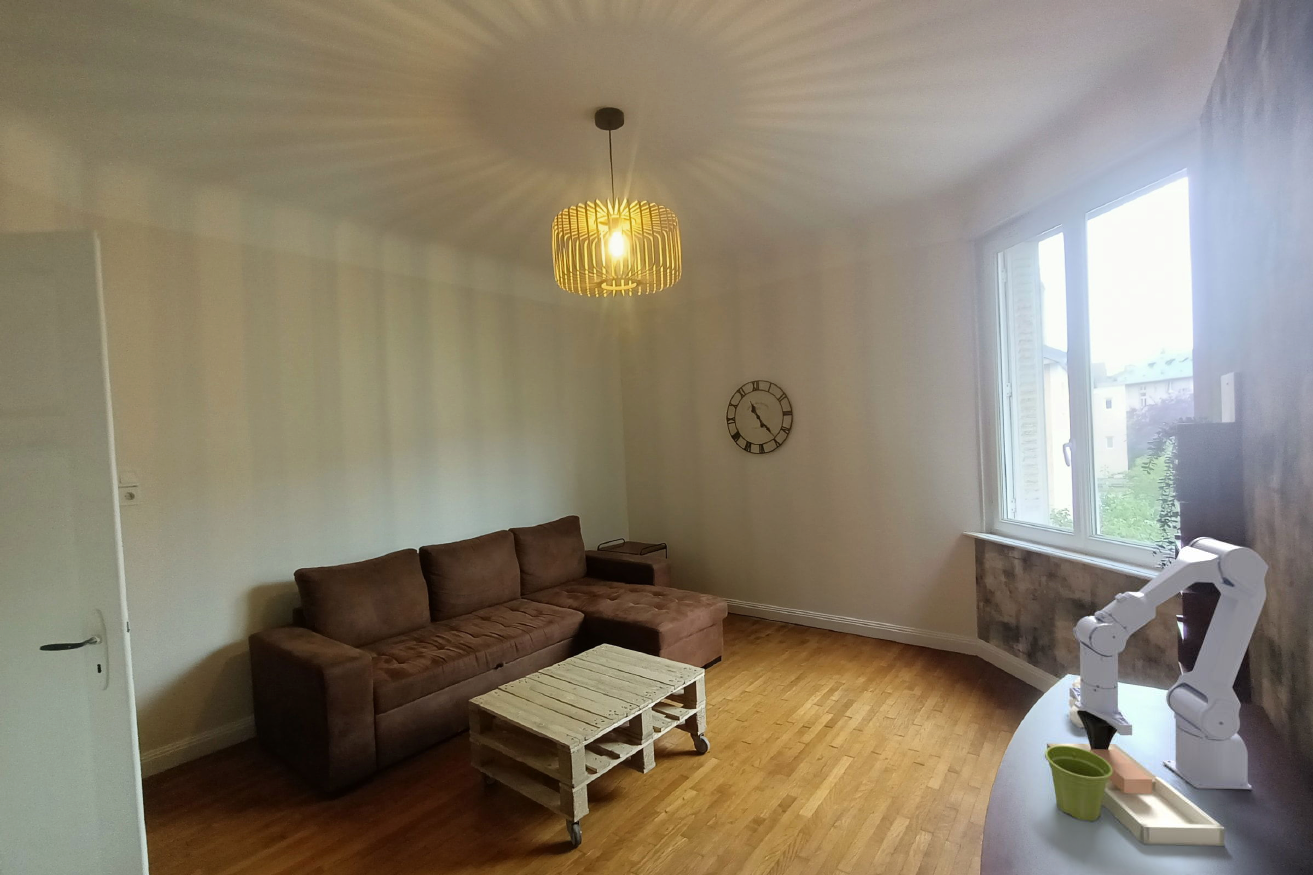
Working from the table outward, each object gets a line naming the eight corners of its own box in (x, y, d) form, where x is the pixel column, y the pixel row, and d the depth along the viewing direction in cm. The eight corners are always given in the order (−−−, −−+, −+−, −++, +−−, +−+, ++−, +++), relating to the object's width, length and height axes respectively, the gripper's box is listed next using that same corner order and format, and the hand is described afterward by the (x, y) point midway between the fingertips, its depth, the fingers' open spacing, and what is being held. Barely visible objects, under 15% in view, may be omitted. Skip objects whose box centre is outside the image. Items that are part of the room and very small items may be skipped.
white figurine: (1108, 677, 130) (1095, 701, 123) (1109, 713, 131) (1096, 739, 123) (1074, 669, 135) (1059, 691, 127) (1075, 704, 136) (1060, 728, 128)
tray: (1159, 792, 105) (1159, 777, 105) (1224, 845, 92) (1224, 828, 92) (1089, 791, 106) (1089, 776, 106) (1143, 843, 93) (1143, 826, 93)
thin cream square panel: (1115, 753, 117) (1115, 743, 117) (1162, 792, 105) (1162, 781, 105) (1047, 752, 118) (1046, 743, 118) (1086, 791, 106) (1086, 780, 106)
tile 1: (1114, 762, 111) (1114, 749, 111) (1132, 776, 106) (1132, 763, 106) (1089, 761, 111) (1089, 748, 111) (1106, 776, 107) (1106, 763, 106)
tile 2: (1132, 776, 106) (1132, 763, 106) (1151, 793, 102) (1151, 779, 102) (1106, 776, 107) (1106, 763, 106) (1124, 792, 102) (1124, 778, 102)
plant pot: (1125, 831, 96) (1125, 779, 95) (1060, 825, 97) (1060, 774, 97) (1094, 794, 105) (1094, 747, 104) (1036, 789, 107) (1035, 743, 106)
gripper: (1053, 665, 119) (1054, 731, 119) (1102, 700, 104) (1103, 774, 105) (1090, 665, 118) (1090, 731, 119) (1144, 700, 104) (1144, 775, 104)
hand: (1099, 751), depth 112 cm, fingers closed
